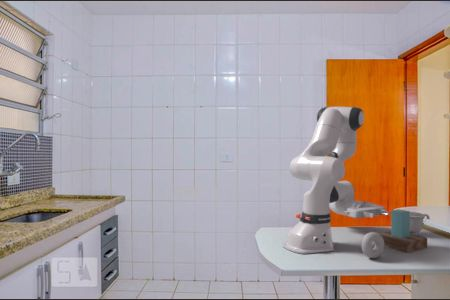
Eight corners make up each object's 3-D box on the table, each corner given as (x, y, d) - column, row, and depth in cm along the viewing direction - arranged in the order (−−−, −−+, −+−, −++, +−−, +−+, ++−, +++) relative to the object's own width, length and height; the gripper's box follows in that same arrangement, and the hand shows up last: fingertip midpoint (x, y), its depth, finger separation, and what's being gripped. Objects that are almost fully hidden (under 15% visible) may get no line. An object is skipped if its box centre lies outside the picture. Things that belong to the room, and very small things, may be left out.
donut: (379, 255, 116) (379, 229, 116) (386, 257, 113) (386, 231, 113) (359, 258, 113) (359, 232, 113) (366, 261, 110) (366, 234, 110)
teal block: (402, 238, 125) (402, 212, 125) (391, 235, 129) (391, 210, 129) (409, 236, 127) (409, 211, 127) (398, 233, 131) (398, 209, 131)
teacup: (437, 237, 138) (437, 216, 139) (405, 237, 139) (405, 216, 139) (421, 230, 151) (421, 211, 151) (391, 230, 151) (391, 211, 151)
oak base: (406, 252, 119) (406, 242, 119) (375, 243, 131) (375, 234, 131) (427, 247, 125) (427, 238, 125) (395, 238, 137) (395, 230, 137)
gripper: (341, 204, 145) (365, 209, 132) (369, 201, 153) (395, 205, 141) (341, 217, 145) (365, 223, 132) (370, 213, 153) (395, 219, 141)
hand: (381, 214), depth 136 cm, fingers open, 8 cm apart
